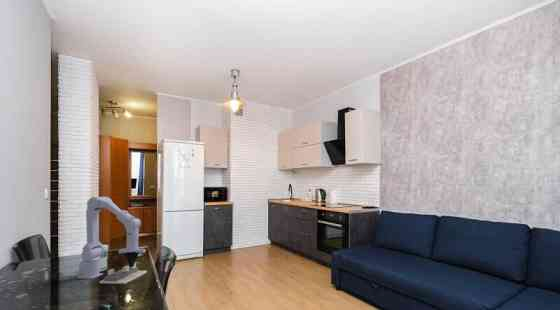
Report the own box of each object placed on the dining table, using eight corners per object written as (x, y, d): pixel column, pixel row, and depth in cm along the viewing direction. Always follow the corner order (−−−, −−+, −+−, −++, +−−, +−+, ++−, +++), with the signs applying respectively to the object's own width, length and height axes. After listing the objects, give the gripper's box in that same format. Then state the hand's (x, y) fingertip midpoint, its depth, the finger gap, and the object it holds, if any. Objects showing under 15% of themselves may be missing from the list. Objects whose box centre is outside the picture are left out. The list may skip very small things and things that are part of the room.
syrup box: (99, 271, 163) (101, 246, 165) (91, 271, 164) (92, 246, 166) (107, 269, 169) (108, 244, 171) (99, 268, 170) (100, 244, 172)
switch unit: (99, 283, 142) (99, 277, 143) (124, 272, 161) (124, 266, 161) (124, 283, 141) (125, 277, 141) (146, 272, 160) (147, 266, 160)
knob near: (107, 275, 145) (107, 270, 145) (111, 273, 147) (111, 268, 148) (110, 275, 144) (110, 270, 145) (114, 273, 147) (114, 268, 147)
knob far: (129, 268, 156) (130, 264, 156) (133, 267, 159) (133, 262, 159) (132, 268, 156) (132, 264, 156) (135, 267, 158) (135, 262, 159)
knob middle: (122, 271, 150) (122, 267, 150) (126, 270, 153) (126, 265, 153) (125, 271, 150) (125, 267, 150) (128, 270, 153) (128, 265, 153)
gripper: (115, 242, 150) (114, 268, 148) (140, 242, 148) (139, 268, 146) (124, 240, 157) (123, 265, 155) (148, 239, 155) (147, 265, 153)
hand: (131, 266), depth 151 cm, fingers closed
